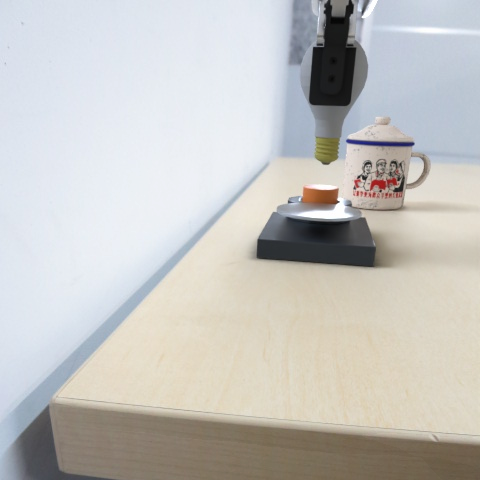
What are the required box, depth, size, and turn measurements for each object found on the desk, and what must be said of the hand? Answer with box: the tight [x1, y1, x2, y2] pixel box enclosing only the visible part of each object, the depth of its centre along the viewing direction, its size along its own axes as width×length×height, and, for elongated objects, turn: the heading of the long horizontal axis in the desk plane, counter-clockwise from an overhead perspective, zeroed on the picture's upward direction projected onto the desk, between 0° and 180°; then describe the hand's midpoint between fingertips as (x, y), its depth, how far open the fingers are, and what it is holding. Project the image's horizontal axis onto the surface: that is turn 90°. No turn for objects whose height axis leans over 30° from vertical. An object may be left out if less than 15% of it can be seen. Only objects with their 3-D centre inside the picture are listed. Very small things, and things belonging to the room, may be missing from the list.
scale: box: [256, 195, 377, 267], centre depth 48 cm, size 14×10×4 cm
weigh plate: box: [276, 202, 363, 222], centre depth 45 cm, size 8×8×1 cm
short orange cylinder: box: [302, 184, 340, 204], centre depth 51 cm, size 4×4×2 cm
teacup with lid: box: [341, 116, 432, 211], centre depth 68 cm, size 12×9×12 cm
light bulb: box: [299, 39, 369, 166], centre depth 41 cm, size 6×6×10 cm
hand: (328, 103), depth 41 cm, fingers closed on light bulb, 5 cm apart
